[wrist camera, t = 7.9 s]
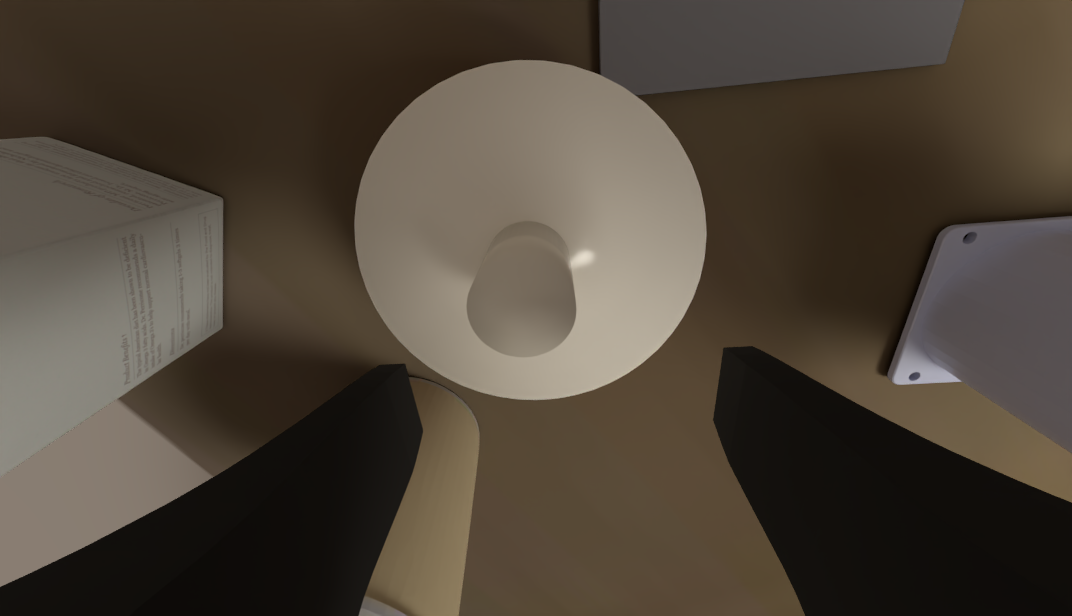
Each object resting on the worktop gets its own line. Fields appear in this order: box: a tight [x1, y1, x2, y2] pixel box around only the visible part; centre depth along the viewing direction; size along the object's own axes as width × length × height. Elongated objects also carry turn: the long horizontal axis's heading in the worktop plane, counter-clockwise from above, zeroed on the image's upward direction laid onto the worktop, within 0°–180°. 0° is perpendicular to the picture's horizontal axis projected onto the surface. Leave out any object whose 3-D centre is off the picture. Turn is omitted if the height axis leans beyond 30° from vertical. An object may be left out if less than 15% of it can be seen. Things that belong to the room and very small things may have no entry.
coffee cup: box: [359, 377, 480, 616], centre depth 18 cm, size 9×9×12 cm
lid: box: [354, 60, 707, 400], centre depth 12 cm, size 12×12×4 cm
